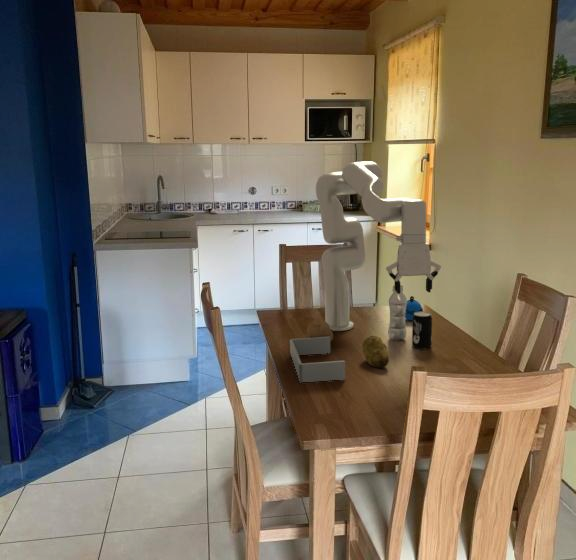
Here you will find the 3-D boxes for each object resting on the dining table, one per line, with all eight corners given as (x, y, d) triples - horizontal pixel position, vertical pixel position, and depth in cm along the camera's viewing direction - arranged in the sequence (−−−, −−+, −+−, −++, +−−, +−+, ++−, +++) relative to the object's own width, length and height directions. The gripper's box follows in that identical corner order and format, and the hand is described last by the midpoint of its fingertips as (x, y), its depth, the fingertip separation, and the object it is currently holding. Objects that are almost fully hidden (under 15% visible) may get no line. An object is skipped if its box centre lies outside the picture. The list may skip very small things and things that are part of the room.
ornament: (410, 324, 221) (411, 300, 219) (396, 319, 228) (396, 295, 226) (427, 320, 225) (427, 296, 223) (412, 316, 232) (413, 292, 230)
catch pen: (290, 355, 191) (289, 339, 189) (330, 353, 192) (329, 336, 191) (299, 383, 167) (299, 364, 166) (345, 380, 169) (345, 361, 168)
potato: (362, 370, 176) (362, 346, 174) (362, 355, 189) (362, 333, 187) (389, 370, 175) (389, 346, 173) (387, 356, 188) (387, 333, 186)
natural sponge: (302, 343, 202) (302, 317, 200) (325, 340, 205) (325, 314, 203) (312, 351, 194) (311, 324, 192) (335, 348, 197) (335, 320, 195)
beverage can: (431, 350, 192) (432, 316, 189) (412, 349, 193) (412, 316, 191) (431, 343, 198) (431, 311, 196) (412, 343, 200) (412, 310, 197)
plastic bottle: (384, 338, 205) (384, 285, 201) (399, 335, 208) (400, 283, 204) (394, 343, 200) (394, 289, 195) (410, 340, 202) (411, 286, 198)
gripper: (388, 241, 172) (388, 296, 176) (444, 239, 172) (443, 293, 176) (383, 238, 179) (384, 290, 183) (437, 236, 180) (436, 288, 183)
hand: (413, 292), depth 179 cm, fingers open, 9 cm apart
